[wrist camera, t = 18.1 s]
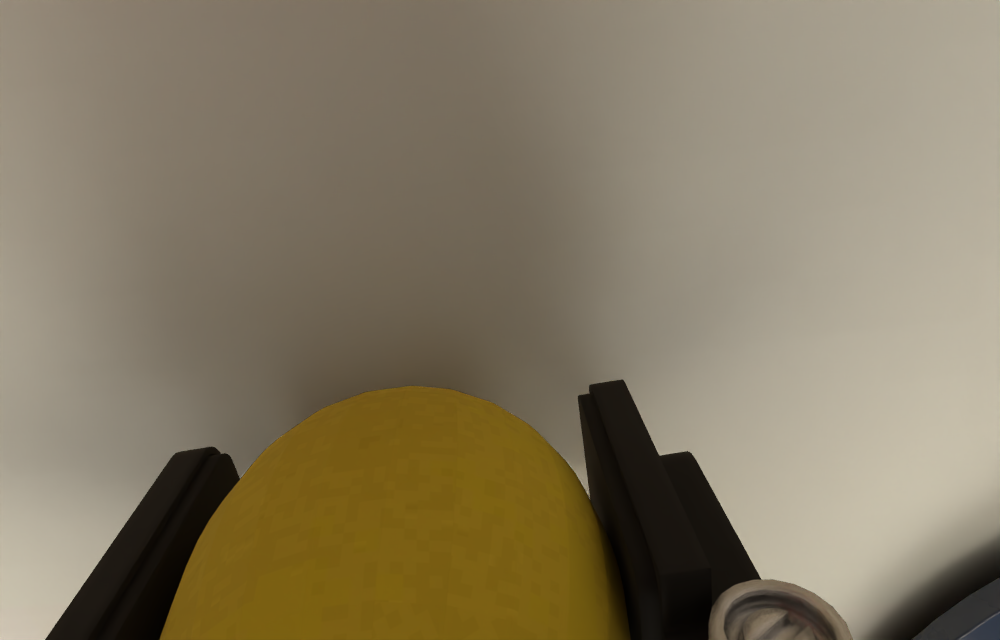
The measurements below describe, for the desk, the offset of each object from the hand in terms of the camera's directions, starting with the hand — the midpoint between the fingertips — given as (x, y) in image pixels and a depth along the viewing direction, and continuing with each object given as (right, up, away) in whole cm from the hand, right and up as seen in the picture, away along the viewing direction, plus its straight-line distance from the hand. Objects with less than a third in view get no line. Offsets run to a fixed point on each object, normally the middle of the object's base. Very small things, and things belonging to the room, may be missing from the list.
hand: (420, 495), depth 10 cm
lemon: (0, +1, +2) cm, 2 cm away
